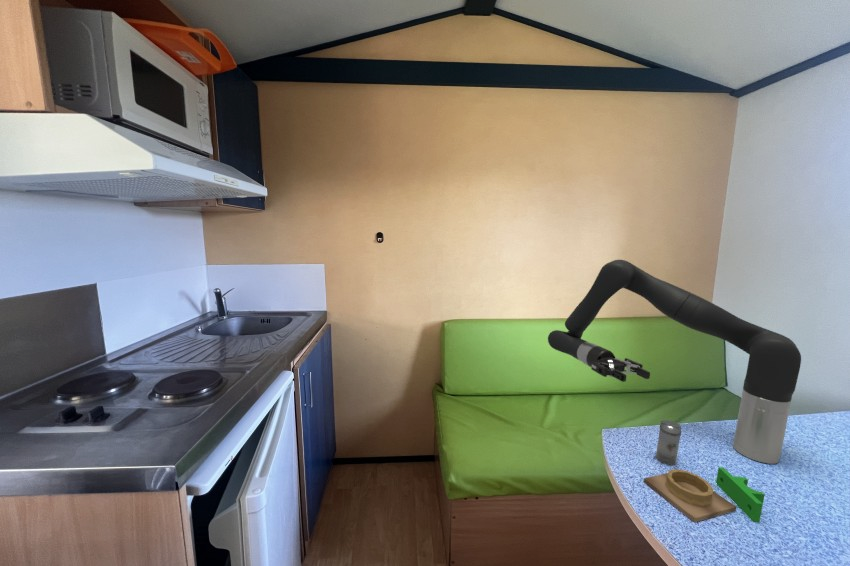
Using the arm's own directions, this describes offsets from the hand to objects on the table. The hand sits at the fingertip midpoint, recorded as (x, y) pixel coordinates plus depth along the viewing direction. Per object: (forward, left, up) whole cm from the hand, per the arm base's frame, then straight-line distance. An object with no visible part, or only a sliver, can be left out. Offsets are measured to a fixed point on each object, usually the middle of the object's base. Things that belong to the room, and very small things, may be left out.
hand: (637, 377), depth 99 cm
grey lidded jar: (0, +11, -18) cm, 21 cm away
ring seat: (+7, +22, -18) cm, 29 cm away
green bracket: (-3, +27, -18) cm, 33 cm away
